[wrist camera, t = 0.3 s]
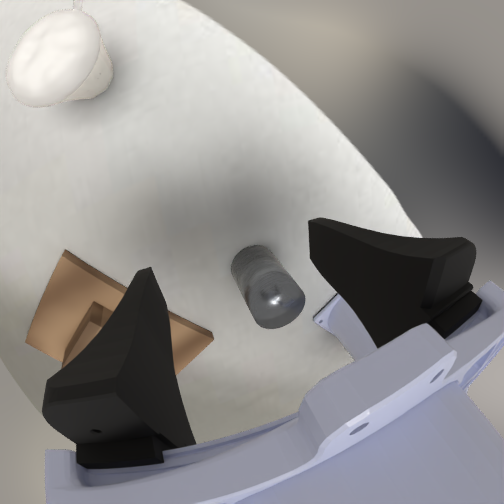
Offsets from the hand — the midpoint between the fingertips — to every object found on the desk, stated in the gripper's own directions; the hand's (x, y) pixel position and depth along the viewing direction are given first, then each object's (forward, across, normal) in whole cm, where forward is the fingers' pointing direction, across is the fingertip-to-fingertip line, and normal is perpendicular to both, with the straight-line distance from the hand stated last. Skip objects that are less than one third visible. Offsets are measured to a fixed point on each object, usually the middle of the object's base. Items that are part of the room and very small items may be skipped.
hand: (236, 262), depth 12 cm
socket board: (+10, +12, +11) cm, 19 cm away
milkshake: (+10, +6, -11) cm, 16 cm away
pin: (+10, -3, +7) cm, 12 cm away
